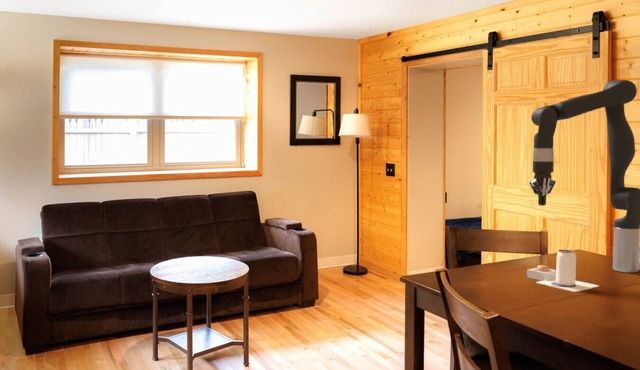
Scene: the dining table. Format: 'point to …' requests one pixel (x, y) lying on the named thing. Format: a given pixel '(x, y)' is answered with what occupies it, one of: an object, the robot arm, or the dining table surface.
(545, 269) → the button
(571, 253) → the can
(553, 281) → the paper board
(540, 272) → the button housing
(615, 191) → the robot arm
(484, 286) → the dining table surface
